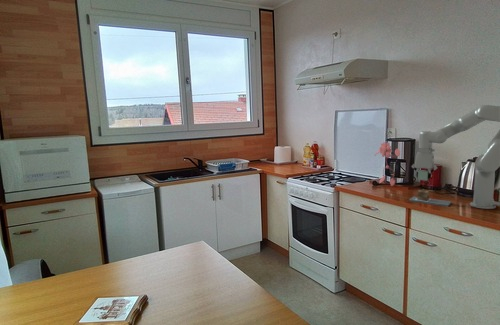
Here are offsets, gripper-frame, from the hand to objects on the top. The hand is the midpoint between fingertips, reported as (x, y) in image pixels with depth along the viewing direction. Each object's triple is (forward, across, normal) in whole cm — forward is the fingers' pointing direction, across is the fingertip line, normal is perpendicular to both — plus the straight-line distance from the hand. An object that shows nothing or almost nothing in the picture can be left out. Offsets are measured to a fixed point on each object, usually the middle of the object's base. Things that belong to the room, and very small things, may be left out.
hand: (423, 178), depth 206 cm
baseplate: (+15, -4, 0) cm, 16 cm away
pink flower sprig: (+16, +36, -33) cm, 51 cm away
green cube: (+1, 0, 0) cm, 1 cm away
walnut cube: (+14, 0, 0) cm, 14 cm away
